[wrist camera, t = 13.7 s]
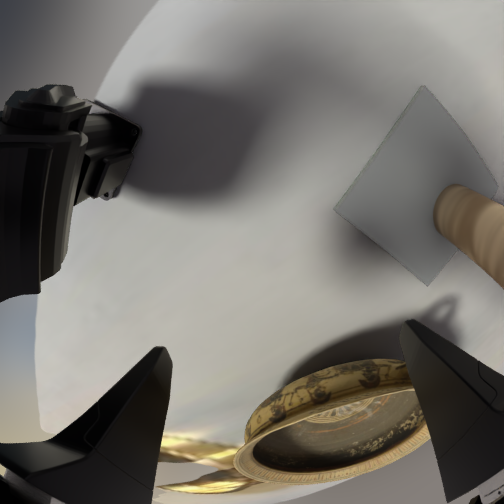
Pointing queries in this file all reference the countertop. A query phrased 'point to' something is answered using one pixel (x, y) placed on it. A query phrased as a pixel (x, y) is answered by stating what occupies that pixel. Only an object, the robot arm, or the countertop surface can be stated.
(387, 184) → the slate tile
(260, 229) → the countertop surface
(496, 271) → the oak pepper mill
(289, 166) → the countertop surface
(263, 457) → the gold ornate bowl
